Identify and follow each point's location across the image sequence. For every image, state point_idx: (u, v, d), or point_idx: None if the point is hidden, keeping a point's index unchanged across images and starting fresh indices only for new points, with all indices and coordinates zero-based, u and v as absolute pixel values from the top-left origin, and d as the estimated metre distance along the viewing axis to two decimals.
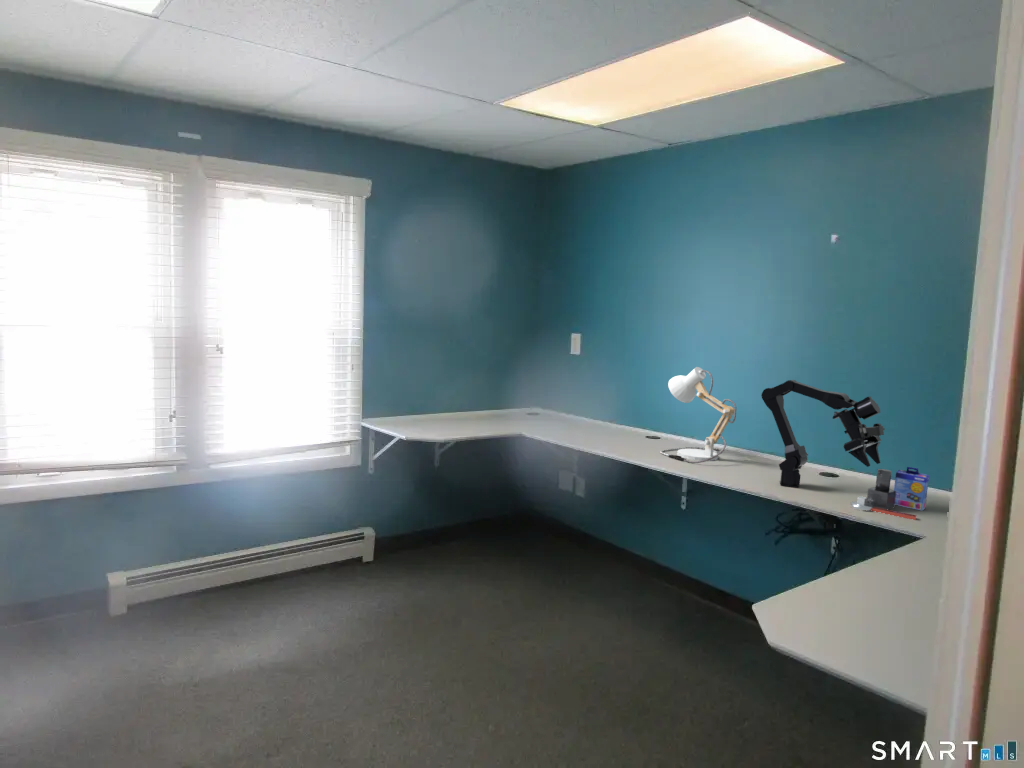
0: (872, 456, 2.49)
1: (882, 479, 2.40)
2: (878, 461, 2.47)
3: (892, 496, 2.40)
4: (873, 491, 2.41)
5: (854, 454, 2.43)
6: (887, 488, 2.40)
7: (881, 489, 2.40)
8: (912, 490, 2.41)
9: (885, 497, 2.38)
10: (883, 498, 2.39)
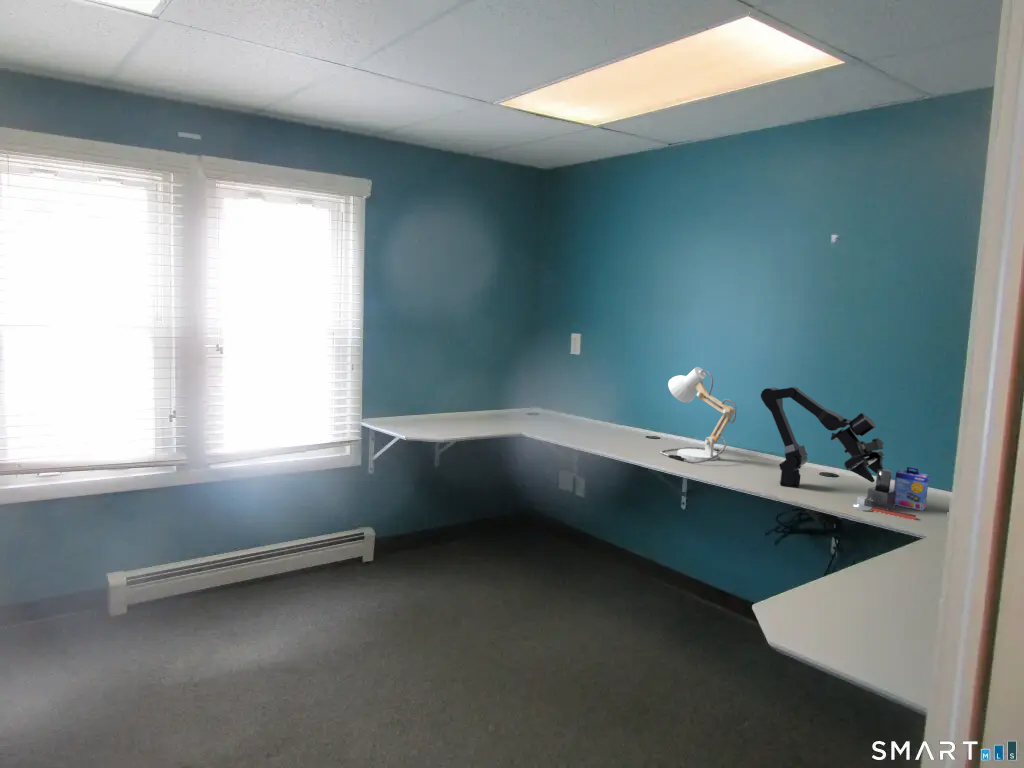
0: None
1: (882, 479, 2.40)
2: None
3: (892, 496, 2.40)
4: (873, 491, 2.41)
5: (857, 471, 2.42)
6: (887, 488, 2.40)
7: (881, 489, 2.40)
8: (912, 490, 2.41)
9: (885, 497, 2.38)
10: (883, 498, 2.39)
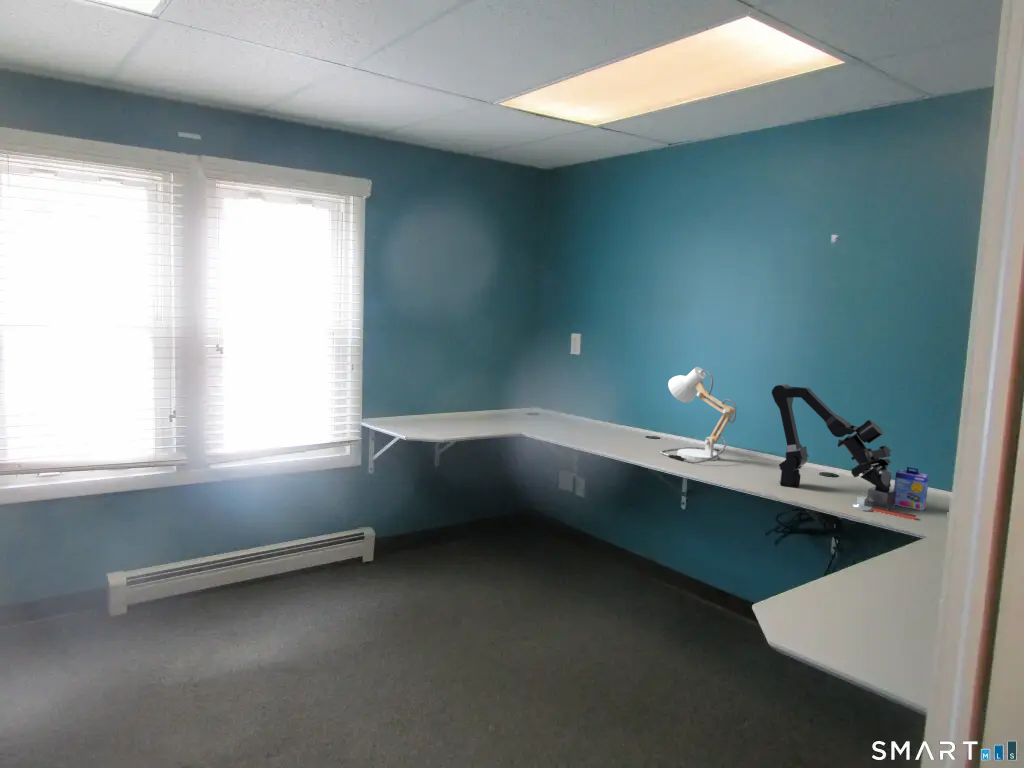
0: None
1: (882, 479, 2.40)
2: None
3: (892, 496, 2.40)
4: (873, 491, 2.41)
5: (866, 478, 2.42)
6: (887, 488, 2.40)
7: (881, 489, 2.40)
8: (911, 490, 2.41)
9: (885, 497, 2.38)
10: (883, 498, 2.39)
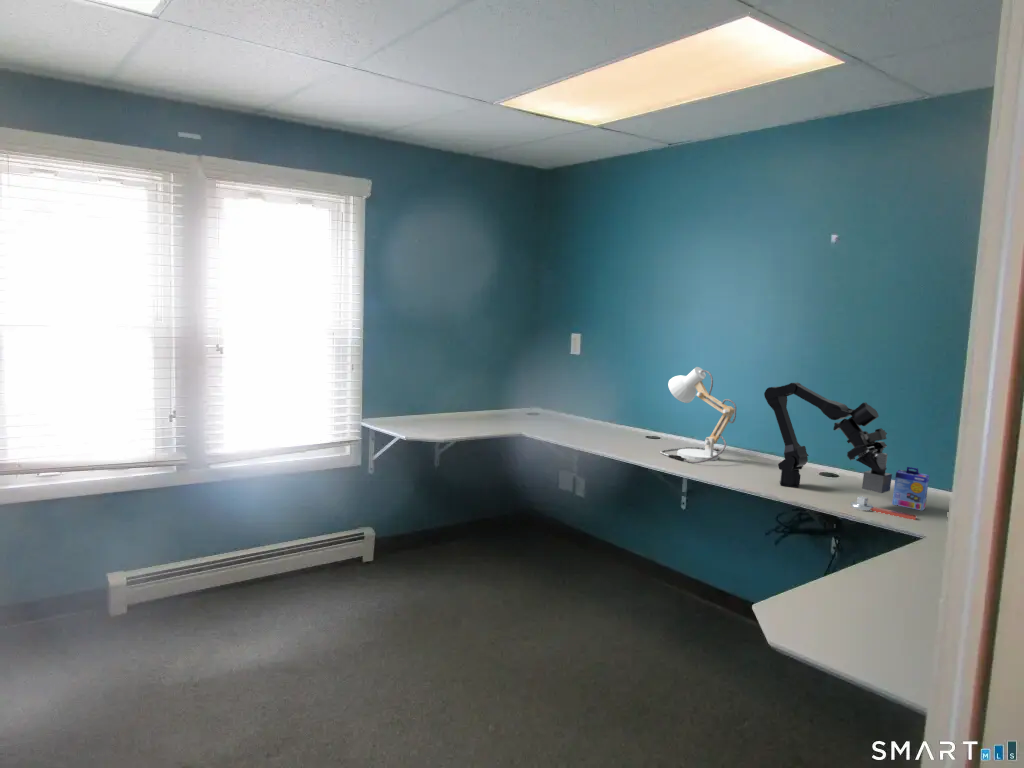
0: None
1: (878, 462, 2.38)
2: None
3: (888, 479, 2.38)
4: (869, 474, 2.39)
5: (862, 461, 2.40)
6: (883, 471, 2.38)
7: (877, 472, 2.38)
8: (911, 490, 2.41)
9: (881, 480, 2.36)
10: (879, 481, 2.37)
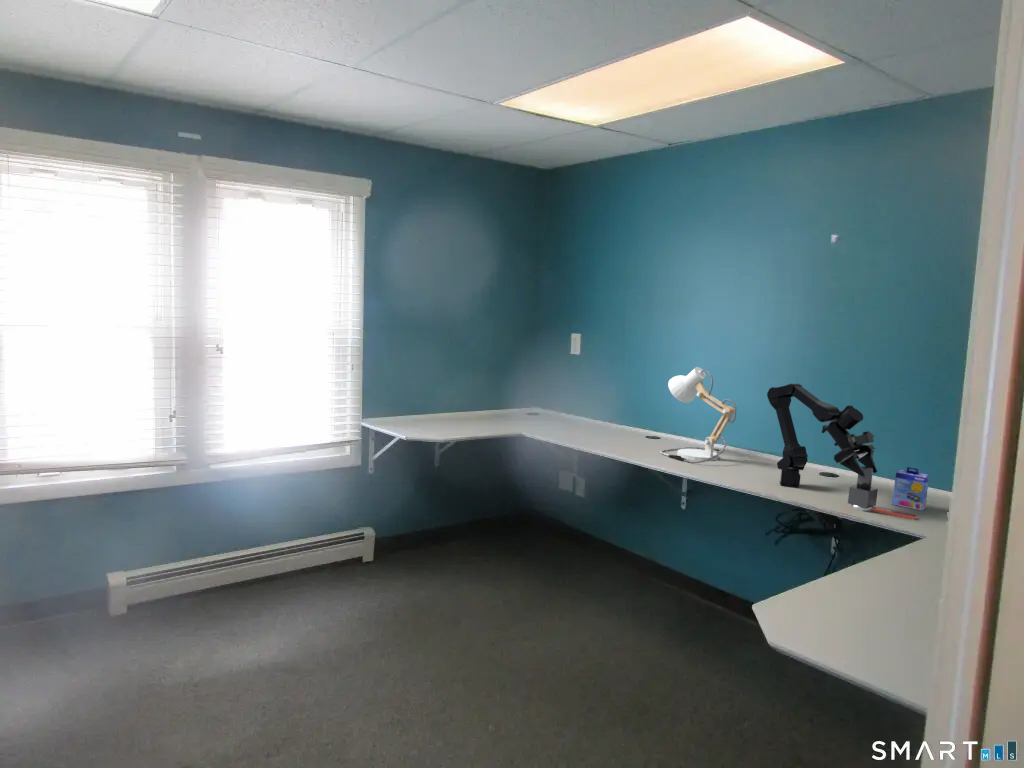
0: (868, 466, 2.41)
1: (863, 477, 2.36)
2: (875, 470, 2.39)
3: (874, 494, 2.36)
4: (854, 489, 2.37)
5: (846, 465, 2.36)
6: (868, 486, 2.36)
7: (862, 487, 2.36)
8: (912, 490, 2.41)
9: (866, 495, 2.34)
10: (864, 496, 2.35)
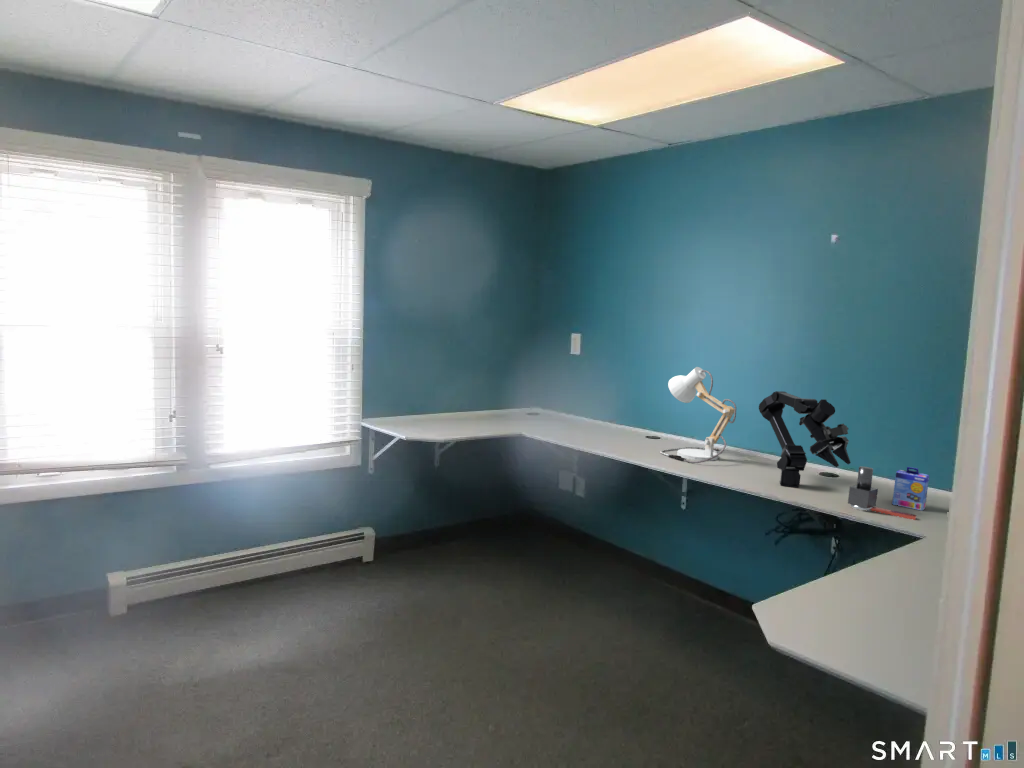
0: (842, 457, 2.49)
1: (863, 477, 2.36)
2: (848, 461, 2.47)
3: (874, 494, 2.36)
4: (854, 489, 2.37)
5: (821, 456, 2.44)
6: (869, 486, 2.36)
7: (862, 487, 2.36)
8: (912, 490, 2.41)
9: (866, 495, 2.34)
10: (864, 496, 2.35)
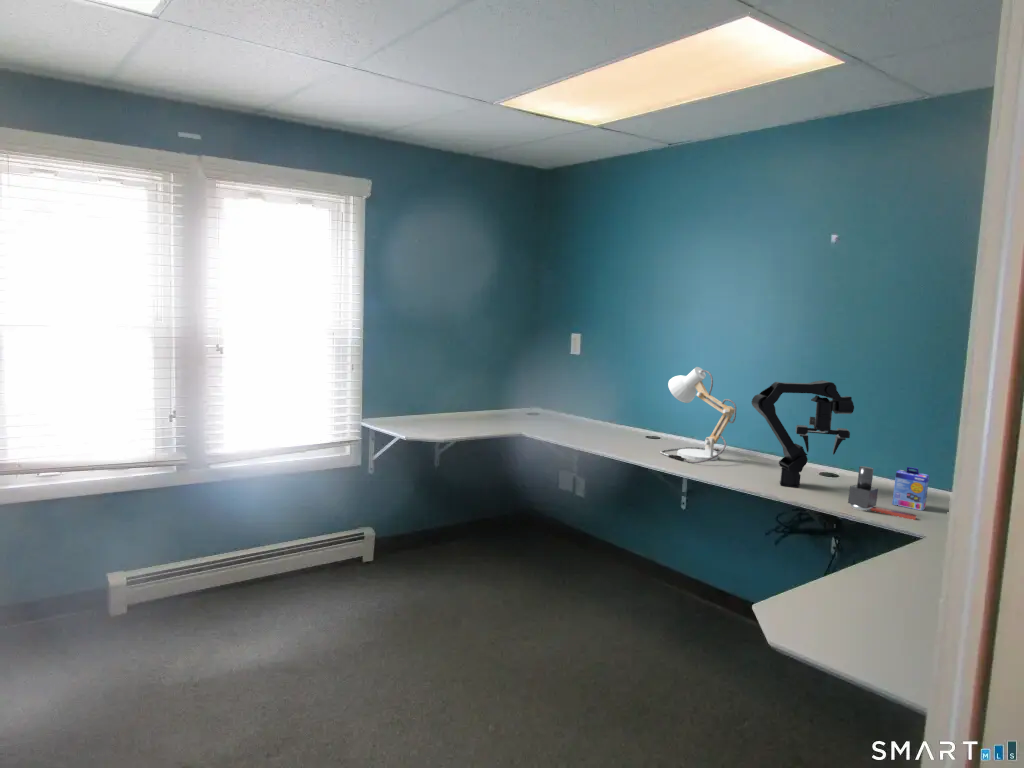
0: None
1: (864, 476, 2.36)
2: None
3: (874, 494, 2.36)
4: (855, 489, 2.37)
5: None
6: (869, 486, 2.36)
7: (863, 487, 2.36)
8: (912, 490, 2.41)
9: (867, 495, 2.34)
10: (865, 496, 2.35)
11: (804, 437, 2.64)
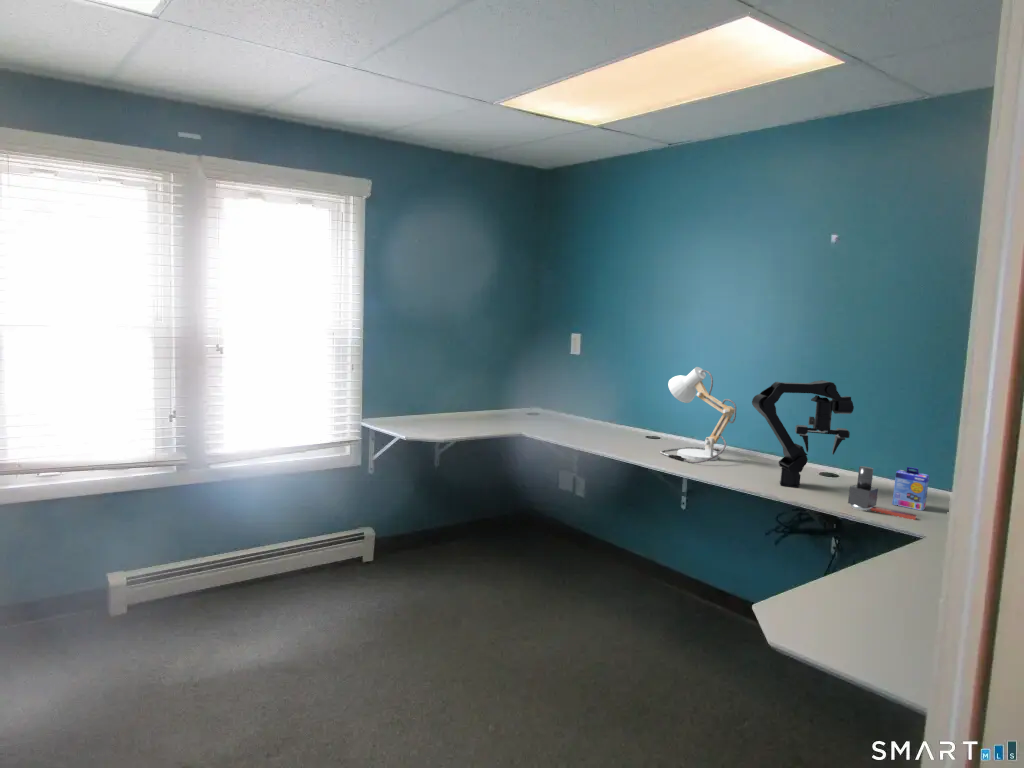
0: None
1: (864, 476, 2.36)
2: None
3: (874, 494, 2.36)
4: (855, 489, 2.37)
5: None
6: (869, 486, 2.36)
7: (863, 487, 2.36)
8: (912, 490, 2.41)
9: (867, 495, 2.34)
10: (865, 496, 2.35)
11: (804, 437, 2.64)
